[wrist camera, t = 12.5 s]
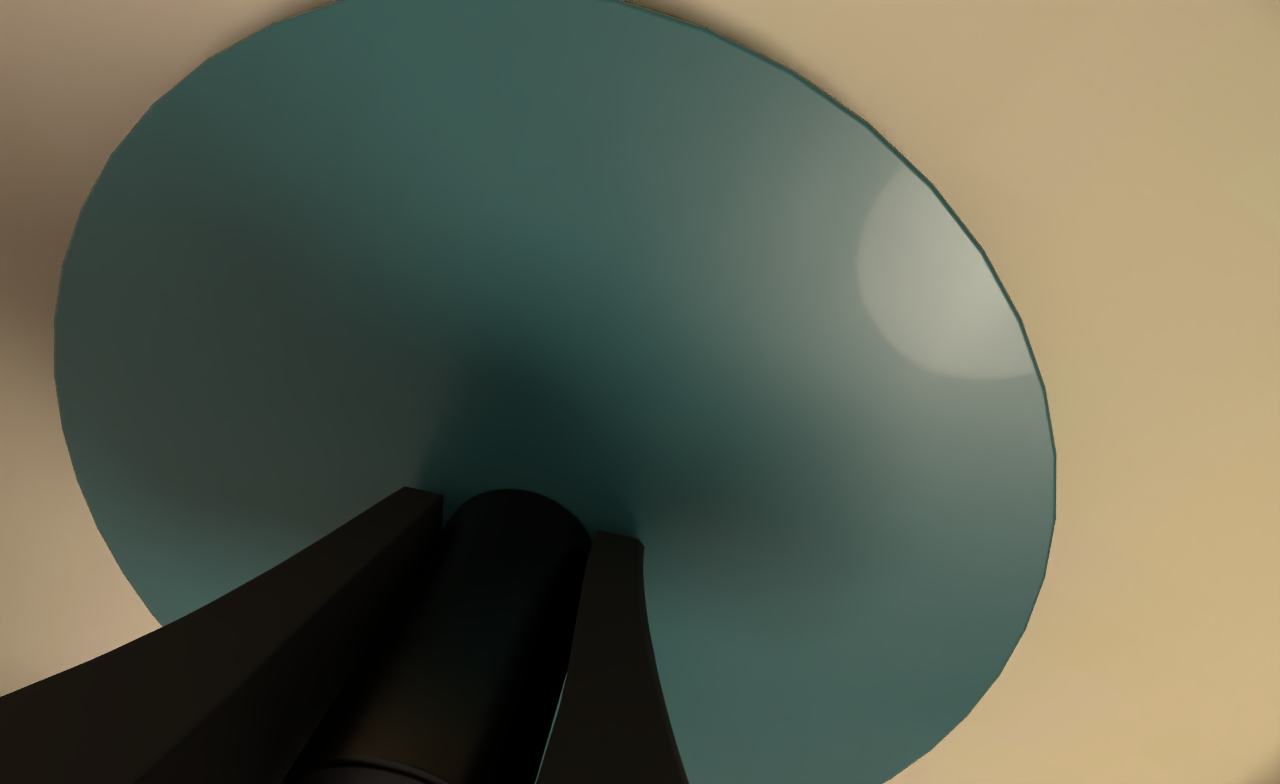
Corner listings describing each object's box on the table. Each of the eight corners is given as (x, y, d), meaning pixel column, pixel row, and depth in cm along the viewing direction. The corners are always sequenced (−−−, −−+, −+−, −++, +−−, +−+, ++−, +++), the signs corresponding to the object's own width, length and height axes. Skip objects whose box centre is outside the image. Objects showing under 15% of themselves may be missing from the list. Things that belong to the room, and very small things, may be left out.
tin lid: (649, 881, 16) (607, 1246, 11) (38, 544, 14) (-360, 816, 9) (1273, 456, 9) (1865, 896, 4) (293, -340, 7) (-756, -1273, 2)
